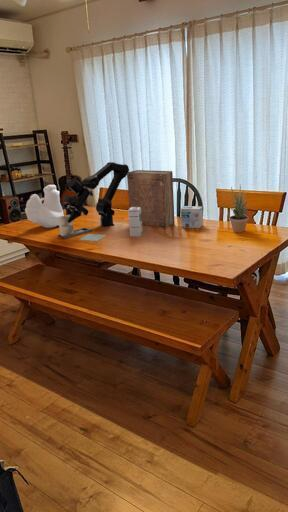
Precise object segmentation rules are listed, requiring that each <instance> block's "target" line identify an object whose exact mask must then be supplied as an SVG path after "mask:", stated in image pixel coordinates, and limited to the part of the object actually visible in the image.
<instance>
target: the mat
mask: <svg viewBox="0 0 288 512" xmlns="http://www.w3.org/2000/svg"><path fill="white" fill-rule="evenodd" d="M104 237H107V234H97V233H95V234H94V233H93V234H92V233H91V234H90V233H87V234H86V235H84V236H83V237H80V238H79V239H78V241H89V242H99V241H101V240H102V239H103V238H104Z"/></svg>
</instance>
